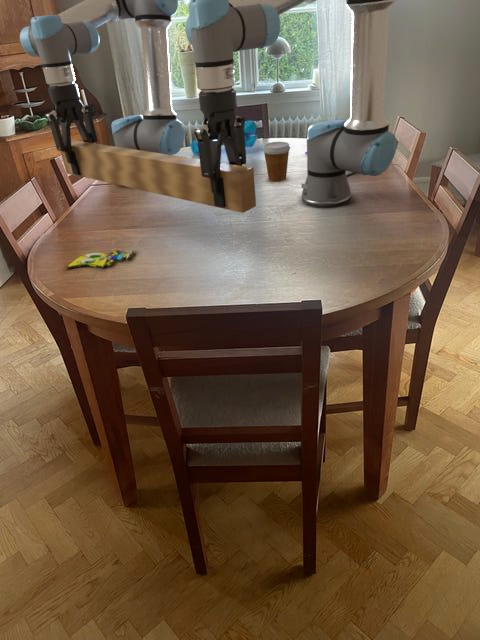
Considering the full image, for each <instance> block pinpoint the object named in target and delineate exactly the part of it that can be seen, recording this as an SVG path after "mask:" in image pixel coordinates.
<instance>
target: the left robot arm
mask: <svg viewBox="0 0 480 640" xmlns="http://www.w3.org/2000/svg"><path fill="white" fill-rule="evenodd" d="M178 6H179V0H83V1H80V2H79V3H77V4H75V5H73V6H72V7H71V6H70V7H69V8H68V9H66V10H63V11H62V12H60V13H58V14H48V15H39V16H38V15H37V16H33V17H31V19H30V25H29V26H25V27H23V28H22V29H21V31H20V33H19V42H20V45H21V47H22V49H23V51H24V52H25V53H26V54H27V55H28V56H30V57H35V58H36V57H37V58H39V60H40V63H41V67H42V70H43V71H42V72H43V75H44V78H45V83H46V84H47V85H48V88H47V90H48V93H49V97H50V100H51V103H52V104H53V105H52V111H50V112H49V113H45V119H46V120H47V121H48V124H49V127H50V131H51V133H52V137H53V141H54V144H55V147H56V148H55V149H56V151H58V152H61V151H63V152H65V155H66V159H67V162H68V164H71V168H72V172H73V174H75V175H74V176H76V175H81V174H80V170H79V166H78V163H77V159H76V155H75V151H72V149H71V140H72V134H71V126H72V122H73V123H74V124H75V126H76V128H77V131H78V133H79V135H80V137H81V139H82V142H88V143H95V144H96V143H97V142H98V136H97V131H96V128H95V123H94V119H93V115H92V114H93V107H92V105H90V104H83V102H82V101H81V98H80V97H81V96H80V92H79V88H78V87H79V86H78V84H77V83H76V82H75V81H76V80H77V79H76V77H75V76H76V75H75V72H74V68H73V62H72V58H71V57H73V56H79V55H86V54H91V53H93V52H95V51H97V50H98V48H99V45H100V35H99V32H98V30H97V28H98V27H101V26H102V25H104V24H113V23H115V22H117V21H121V20H130V19H134V22H135V24H136V25H137V26H138V28H139V29H140V38H141V52H142V62H143V76H144V88H145V89H144V90H145V104H146V110H145V111H144V112H143V113H142V114H133V115H129V116H125V117H121V118H118V119H115V120H113V121H112V122H111V132H112V133H111V135H112V140H113V142H114V146H115V147H121V148H128V149H134V150H141V151H148V152H154V153H161V154H167V155H174V156H175V155H176V154H177V153H179V152H180V151H181V149H182V147H183V144H184V141H185V128H184V126H183V123H182V121H180V120H179V119H178V117H177V113H176V112H175V111H174V110H173V107H172V106H173V105H172V104H173V103H172V90H171V89H172V86H171V72H170V71H171V69H170V53H169V37H168V36H169V35H168V29H169V28H170V26H171V25H172V17H173V16H174V15H175V14H176V13H177V11H178V10H177V9H178V8H179V7H178ZM58 119H59V120H58ZM58 121H59V122H58ZM60 127H61V128H60ZM119 186H120V187H123V188H124V187H125V186H121V185H119ZM125 188H126V187H125Z"/></svg>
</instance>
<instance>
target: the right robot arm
mask: <svg viewBox="0 0 480 640" xmlns="http://www.w3.org/2000/svg"><path fill="white" fill-rule="evenodd" d="M314 2H317V0H190V1H189V3H188V17H187V19H186V21H185V35H186V39H187V40H188V43H189V44H190V46H192V50H193V51H192V52H193V59H194V65H195V66H194V68H195V77H196V83H197V84H196V86H197V89H198V90H199V93H198V101H199V110H200V111H201V112H202V114H203V122H202V125H201V127H200V128H194V130H193V135H194V136H195V139H196V141H197V143H198V150H199V153H198V156H199V158H198V159H200V166H201V173H202V176H203V177H207V178H209V179H210V184H211V191H212V193H213V196H214V204H215V206H217V207H216V208H218V207H222V208H221V209H223V208H225V207H226V203H225V193H224V184H223V178H222V177H220V164H221V163H222V161H221V160H222V147H224V151H225V153H226V157H227V161H228V164H233V165H240V166H244V165H246V164H247V152H246V151H247V150H246V149H247V147H245V135H244V126H245V122H246V117H245V116H237V114H236V112H235V110H236V109H237V108H238V100H237V98H238V97H237V90H236V89H235V88H234V87H235V86H236V79H235V65H234V53H236V52H240V51H249V50H254V49H255V50H256V49H264V48H266V47H270V46H272V45H274V44H275V43H276V41H277V40H278V38H279V36H280V32H281V18H280V15H282V14H285V13H286V12H288V11H289V10H291V9H294V8H295V7H298V6H299V5H301V4H303V3H307V4H312V3H314ZM396 2H397V0H345V6H346V7H347V9H348V10H349V11H350V12H351V14H352V15H351V20H352V21H351V23H352V24H351V59H350V60H351V65H350V67H351V68H350V108H349V109H350V110H349V111H350V112H349V114H350V117H349V119H345V118H344V119H343V118H342V119H341V118H340V119H332V120H325V121H320V122H317V123H312V124H311V125H310V126H309V127H308V129H307V138H306V152H307V154H306V163H307V164H306V167H307V171H306V172H307V175H306V178H305V181H304V183H300V186H301V187H300V188H301V189H302V191H301V202H302V203H303V204H304V205H306V206H309V207H315V208H335V207H340V206H344V205H346V204H348V203H349V202H350V201H351V200H352V198H351V197H352V192H351V188H350V183H349V180H348V178H349V177H352V176H353V175H356V174H359V175H362V176H372V177H377V176H379V175H382V174H383V173H384V172H385V171H386V170H387V169H389V167H390V165H391V164H392V162H393V160H394V158H395V155H396V152H397V147H398V140H397V137H396V135H395V133H394V132H392V131H389V127H390V122H389V120H388V119H387V118H386V117H385V115H384V113H385V112H384V111H385V109H384V108H385V97H386V95H385V93H386V77H387V62H388V61H387V59H388V44H389V43H388V39H389V24H390V10H391V8H392V6H393V5H394V4H395V3H396ZM214 139H216V140H214ZM223 143H224V145H223V146H222V144H223ZM347 172H349V173H348V174H347Z"/></svg>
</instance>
